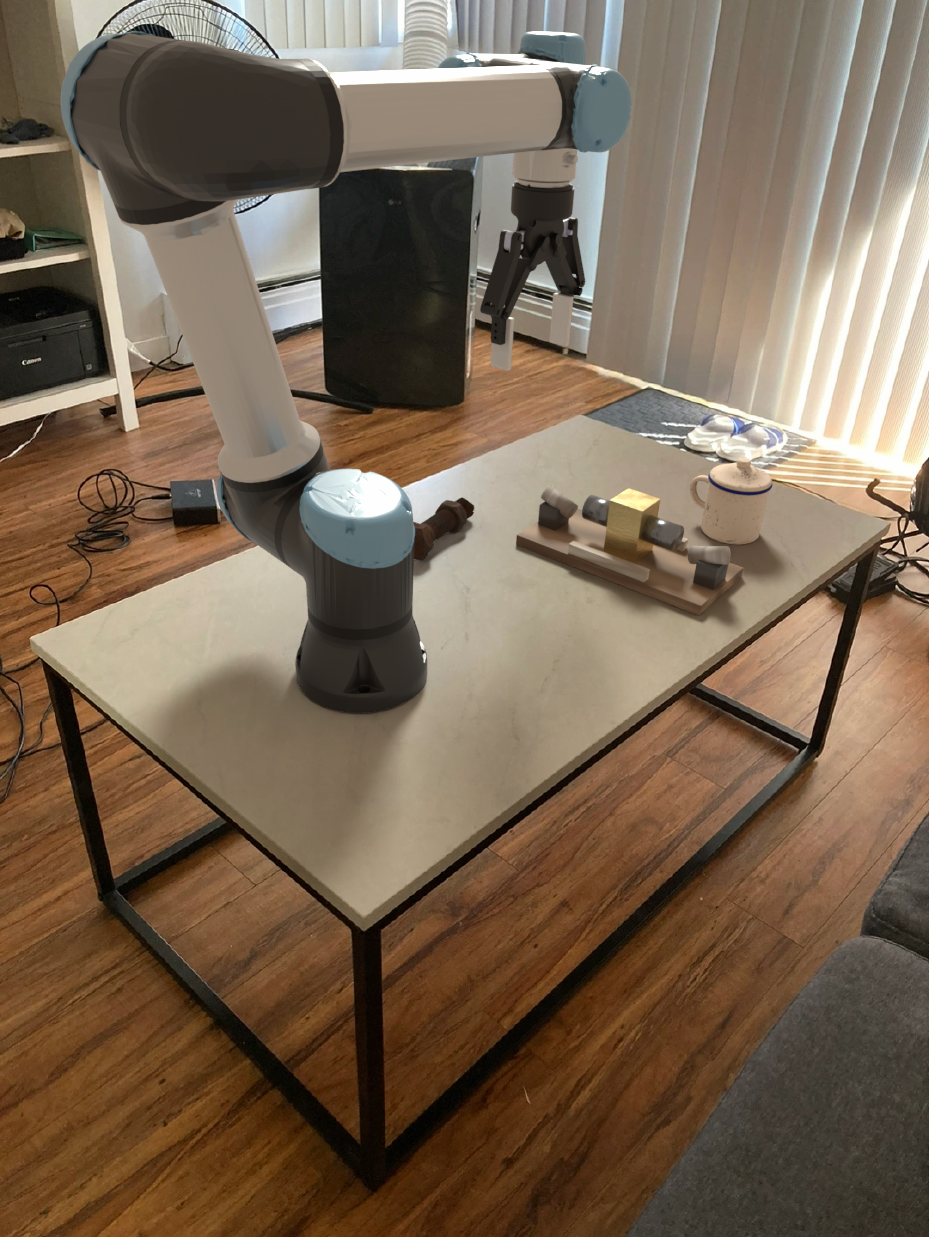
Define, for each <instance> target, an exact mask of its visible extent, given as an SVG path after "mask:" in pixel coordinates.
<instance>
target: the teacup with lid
mask: <svg viewBox="0 0 929 1237" xmlns="http://www.w3.org/2000/svg"><path fill="white" fill-rule="evenodd" d="M772 479H773V478H772V477H771V476H770V475H769V473H768V472H766V471H765V470H762V469H761V468H759V467H757V466H754V465H753V464H752V461H751V459H750V458H747V457H739V458H738V459H737V460H736V461H735V462H732V463H722V464H718V465H716V466H714V467H713V468H711V470H710V472H709V473H708V475H704V474H700V475H698V476H696V477H694V478H693V479H692V480H691V482H690V485H689V494H690V497H691V500H692V501H693V502H694V504H695V505H696V506H698V508H699V507H700V509H703V512H702V517H701V524H700V528H701V531H702V532H703V534H704V535H705V536H707V537H708V538H710V539H712V540H713V541H716V542H719V543H724V544H728V545H746V544H751V543H753V542H755V541H756V540H757V539H758V538H759V537H760V533H761V530H762V525H763V521H764V517H765V516H764V515H765V511H766V507H767V503H768V498H769V494H770V491H771V489H772V488H773V480H772ZM698 482H704V483H707V484H708V486H707V492H706V495H705V501H704V500H702V499H701V497H700V496H699V494H698V491H697V490H698V489H697V485H698Z"/></svg>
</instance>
